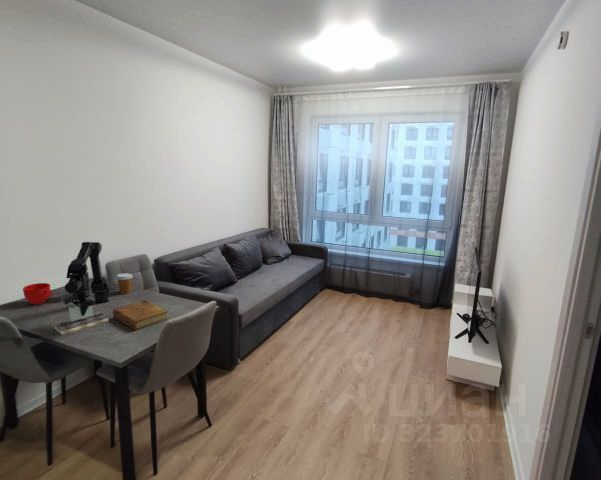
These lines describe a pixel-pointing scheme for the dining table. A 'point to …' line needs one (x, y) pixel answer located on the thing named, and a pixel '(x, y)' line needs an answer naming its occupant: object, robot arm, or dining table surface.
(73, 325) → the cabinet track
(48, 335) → the dining table surface
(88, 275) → the storage jar
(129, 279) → the disposable coffee cup
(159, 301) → the dining table surface
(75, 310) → the pale green rectangular box
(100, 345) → the dining table surface
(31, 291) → the ceramic cup
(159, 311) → the diary
